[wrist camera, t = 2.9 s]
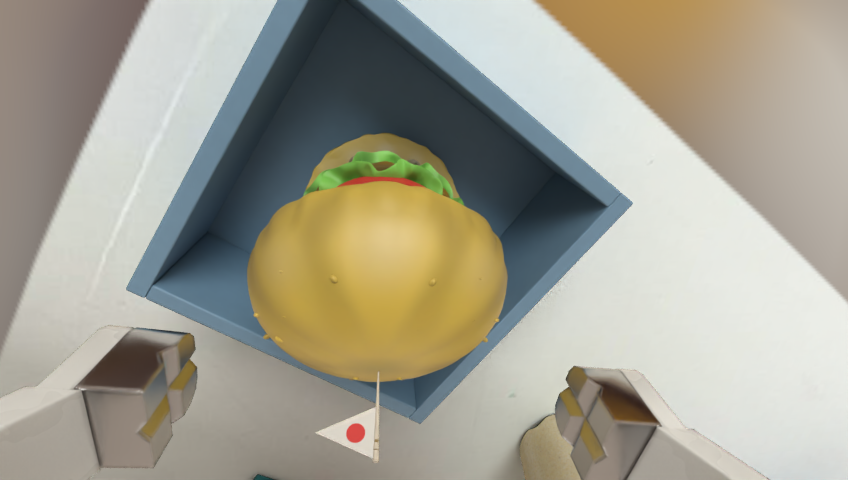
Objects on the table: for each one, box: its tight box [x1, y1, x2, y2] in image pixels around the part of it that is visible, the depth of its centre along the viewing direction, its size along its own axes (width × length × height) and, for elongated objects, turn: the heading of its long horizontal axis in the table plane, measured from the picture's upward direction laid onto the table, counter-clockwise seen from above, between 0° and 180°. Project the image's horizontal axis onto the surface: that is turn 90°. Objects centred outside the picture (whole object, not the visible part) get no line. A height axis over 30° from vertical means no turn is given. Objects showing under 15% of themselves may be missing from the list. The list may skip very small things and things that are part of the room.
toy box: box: [126, 0, 633, 424], centre depth 17 cm, size 13×13×6 cm
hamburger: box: [247, 133, 508, 463], centre depth 14 cm, size 8×7×12 cm
